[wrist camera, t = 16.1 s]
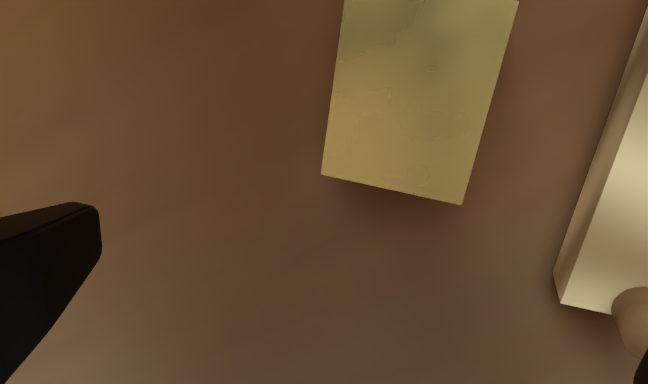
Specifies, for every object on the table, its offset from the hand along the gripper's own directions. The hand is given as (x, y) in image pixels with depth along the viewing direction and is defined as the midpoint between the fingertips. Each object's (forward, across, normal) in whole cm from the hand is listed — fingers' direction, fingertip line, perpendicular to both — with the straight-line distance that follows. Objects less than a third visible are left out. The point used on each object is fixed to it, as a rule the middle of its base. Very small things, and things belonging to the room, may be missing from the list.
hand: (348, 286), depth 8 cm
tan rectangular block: (+12, 0, -1) cm, 12 cm away
